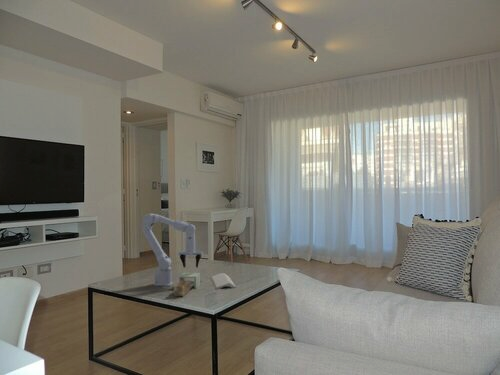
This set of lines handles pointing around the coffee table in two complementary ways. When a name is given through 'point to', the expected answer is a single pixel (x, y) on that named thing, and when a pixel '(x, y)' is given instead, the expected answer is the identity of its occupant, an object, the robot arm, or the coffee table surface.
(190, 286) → the rail
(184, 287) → the brown rectangular box
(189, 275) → the tunnel
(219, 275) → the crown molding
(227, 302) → the coffee table surface
